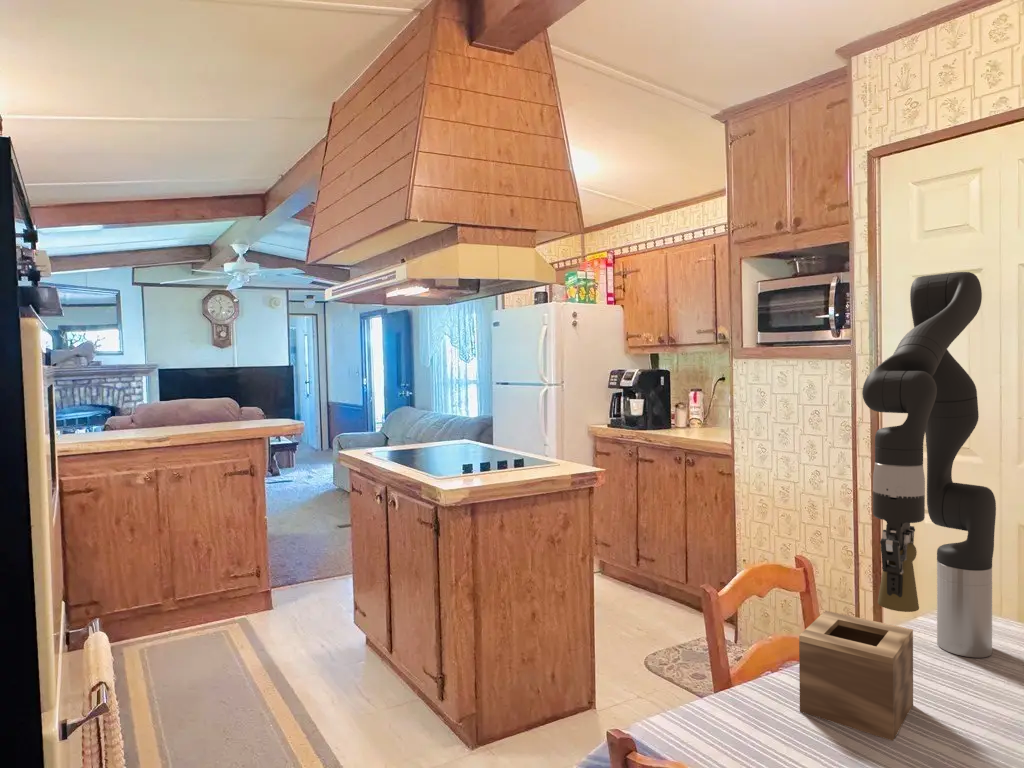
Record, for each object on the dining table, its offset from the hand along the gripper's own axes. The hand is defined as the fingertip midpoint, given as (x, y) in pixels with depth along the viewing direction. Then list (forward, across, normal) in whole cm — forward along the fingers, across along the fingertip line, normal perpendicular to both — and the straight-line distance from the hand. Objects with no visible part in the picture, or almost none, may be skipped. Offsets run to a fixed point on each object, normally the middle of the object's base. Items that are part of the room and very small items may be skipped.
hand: (897, 591), depth 113 cm
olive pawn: (+2, 0, 0) cm, 2 cm away
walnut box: (+20, +4, -5) cm, 21 cm away
